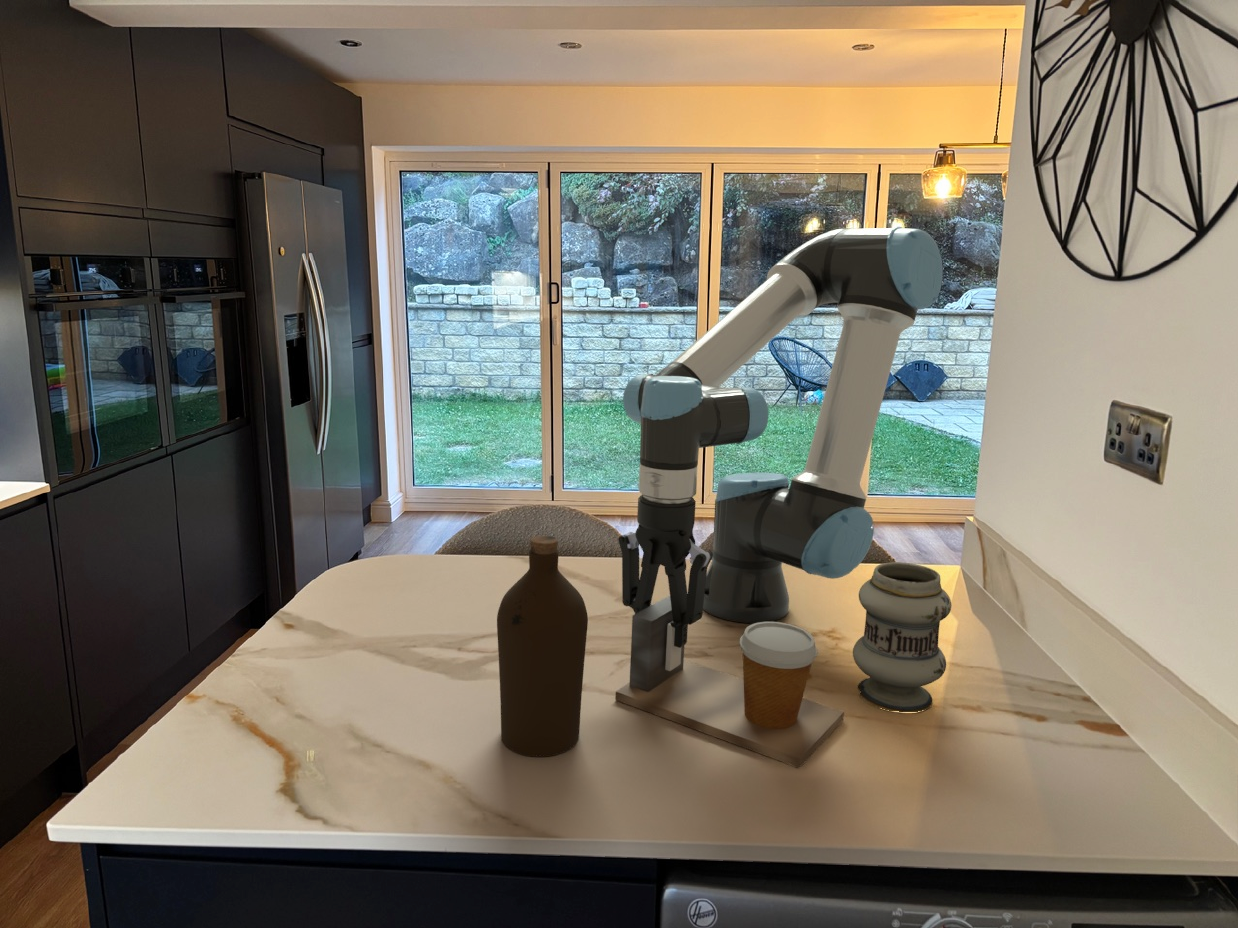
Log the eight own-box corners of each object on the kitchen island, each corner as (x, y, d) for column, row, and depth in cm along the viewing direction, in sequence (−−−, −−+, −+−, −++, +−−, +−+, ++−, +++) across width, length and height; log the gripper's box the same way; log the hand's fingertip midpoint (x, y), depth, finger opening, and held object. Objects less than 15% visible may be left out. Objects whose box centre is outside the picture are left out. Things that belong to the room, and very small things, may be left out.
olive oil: (581, 762, 101) (588, 555, 95) (489, 758, 101) (490, 552, 95) (586, 716, 111) (592, 527, 105) (502, 712, 111) (504, 524, 105)
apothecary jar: (840, 673, 125) (852, 554, 122) (924, 677, 125) (939, 558, 121) (860, 715, 114) (874, 585, 110) (953, 720, 113) (971, 589, 109)
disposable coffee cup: (803, 751, 105) (814, 659, 102) (724, 733, 108) (733, 644, 105) (811, 713, 114) (822, 628, 111) (739, 698, 116) (747, 614, 113)
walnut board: (615, 699, 115) (618, 620, 113) (670, 663, 127) (674, 590, 124) (799, 767, 101) (807, 678, 99) (843, 719, 112) (851, 638, 110)
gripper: (597, 490, 115) (592, 654, 121) (709, 513, 106) (699, 690, 111) (629, 480, 121) (623, 637, 127) (738, 501, 112) (726, 669, 117)
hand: (659, 661), depth 119 cm, fingers open, 4 cm apart
